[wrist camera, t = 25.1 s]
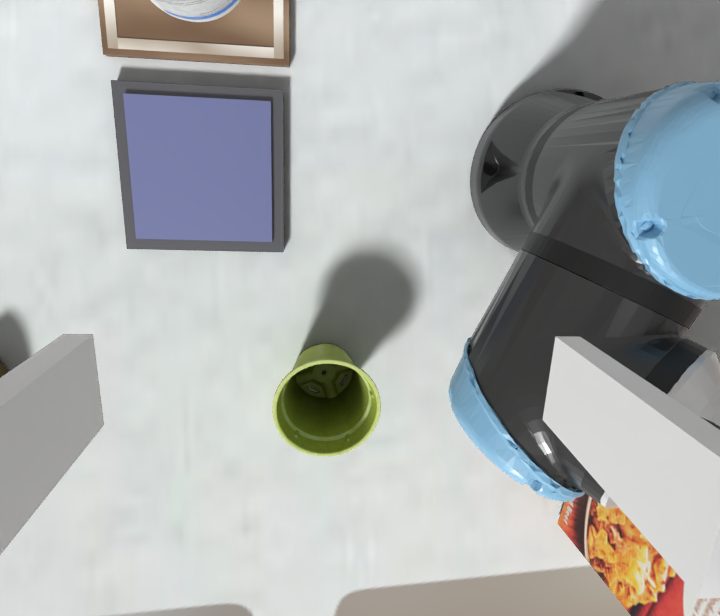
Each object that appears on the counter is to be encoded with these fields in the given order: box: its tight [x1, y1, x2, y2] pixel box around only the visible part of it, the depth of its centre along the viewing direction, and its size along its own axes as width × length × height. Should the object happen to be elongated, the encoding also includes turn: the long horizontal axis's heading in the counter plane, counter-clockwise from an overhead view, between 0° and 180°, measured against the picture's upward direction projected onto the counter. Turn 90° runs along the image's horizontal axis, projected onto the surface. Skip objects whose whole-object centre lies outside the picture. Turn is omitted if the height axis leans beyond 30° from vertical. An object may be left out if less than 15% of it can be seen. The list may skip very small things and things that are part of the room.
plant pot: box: [272, 344, 381, 456], centre depth 47 cm, size 9×9×9 cm
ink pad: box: [111, 80, 284, 252], centre depth 44 cm, size 14×14×2 cm
